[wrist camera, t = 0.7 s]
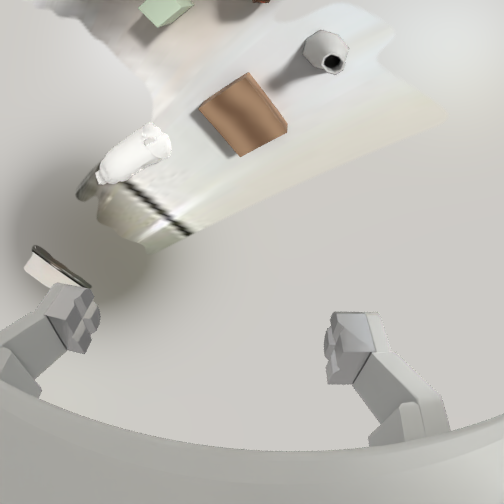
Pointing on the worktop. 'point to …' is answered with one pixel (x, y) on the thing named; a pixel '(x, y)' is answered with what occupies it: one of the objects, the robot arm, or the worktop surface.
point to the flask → (326, 51)
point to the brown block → (244, 115)
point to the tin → (261, 1)
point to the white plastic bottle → (134, 155)
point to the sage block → (164, 10)
